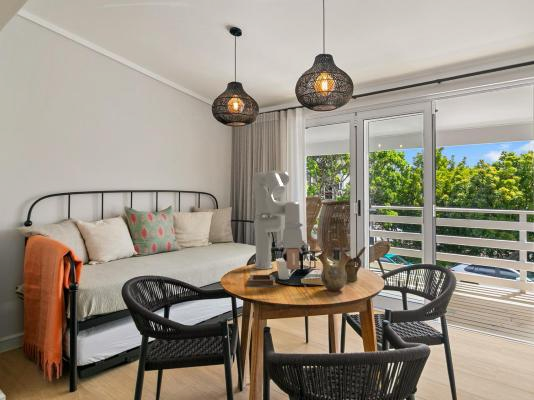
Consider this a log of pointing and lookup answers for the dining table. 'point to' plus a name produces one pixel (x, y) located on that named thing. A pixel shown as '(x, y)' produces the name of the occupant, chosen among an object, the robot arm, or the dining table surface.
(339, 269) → the ceramic vessel
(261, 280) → the jug stand
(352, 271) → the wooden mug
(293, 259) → the jug
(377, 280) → the dining table surface
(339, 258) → the coffee can
